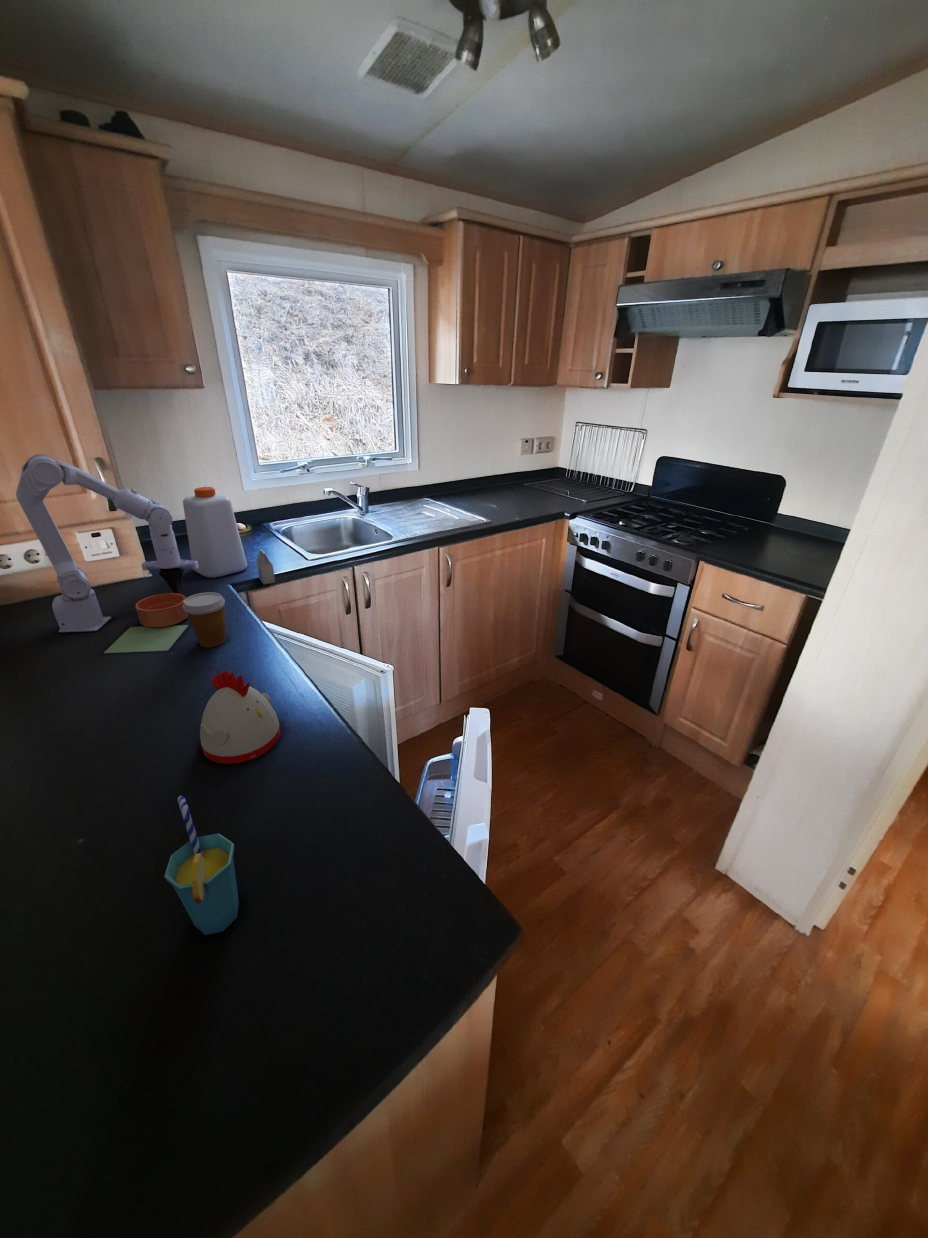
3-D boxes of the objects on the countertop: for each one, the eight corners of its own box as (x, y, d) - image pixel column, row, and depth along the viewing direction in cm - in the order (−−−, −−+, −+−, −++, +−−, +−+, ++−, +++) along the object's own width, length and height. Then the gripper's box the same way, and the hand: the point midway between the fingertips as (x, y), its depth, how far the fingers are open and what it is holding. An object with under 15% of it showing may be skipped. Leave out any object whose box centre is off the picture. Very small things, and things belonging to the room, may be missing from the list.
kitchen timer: (245, 771, 89) (229, 701, 82) (185, 752, 93) (165, 684, 86) (295, 725, 101) (284, 660, 94) (239, 709, 105) (225, 647, 98)
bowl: (132, 630, 135) (127, 611, 133) (152, 611, 146) (147, 593, 144) (180, 628, 136) (175, 609, 134) (196, 609, 147) (192, 592, 145)
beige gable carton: (263, 584, 165) (258, 555, 160) (259, 577, 170) (254, 549, 166) (275, 582, 167) (270, 553, 162) (270, 575, 172) (265, 547, 167)
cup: (173, 886, 69) (144, 806, 63) (232, 857, 74) (211, 779, 67) (195, 974, 59) (163, 890, 53) (262, 935, 64) (241, 852, 57)
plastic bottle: (252, 569, 177) (238, 488, 164) (209, 581, 167) (190, 495, 154) (231, 559, 186) (216, 481, 173) (189, 569, 176) (170, 488, 163)
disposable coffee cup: (217, 652, 126) (207, 608, 120) (184, 648, 127) (172, 605, 122) (240, 635, 134) (231, 593, 129) (208, 631, 136) (198, 589, 130)
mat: (103, 653, 124) (103, 652, 124) (130, 627, 137) (130, 626, 137) (167, 650, 126) (167, 650, 126) (188, 625, 138) (188, 624, 138)
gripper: (197, 542, 147) (207, 585, 153) (144, 543, 145) (156, 587, 151) (188, 550, 141) (199, 595, 147) (133, 551, 139) (146, 596, 145)
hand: (177, 591), depth 149 cm, fingers closed
